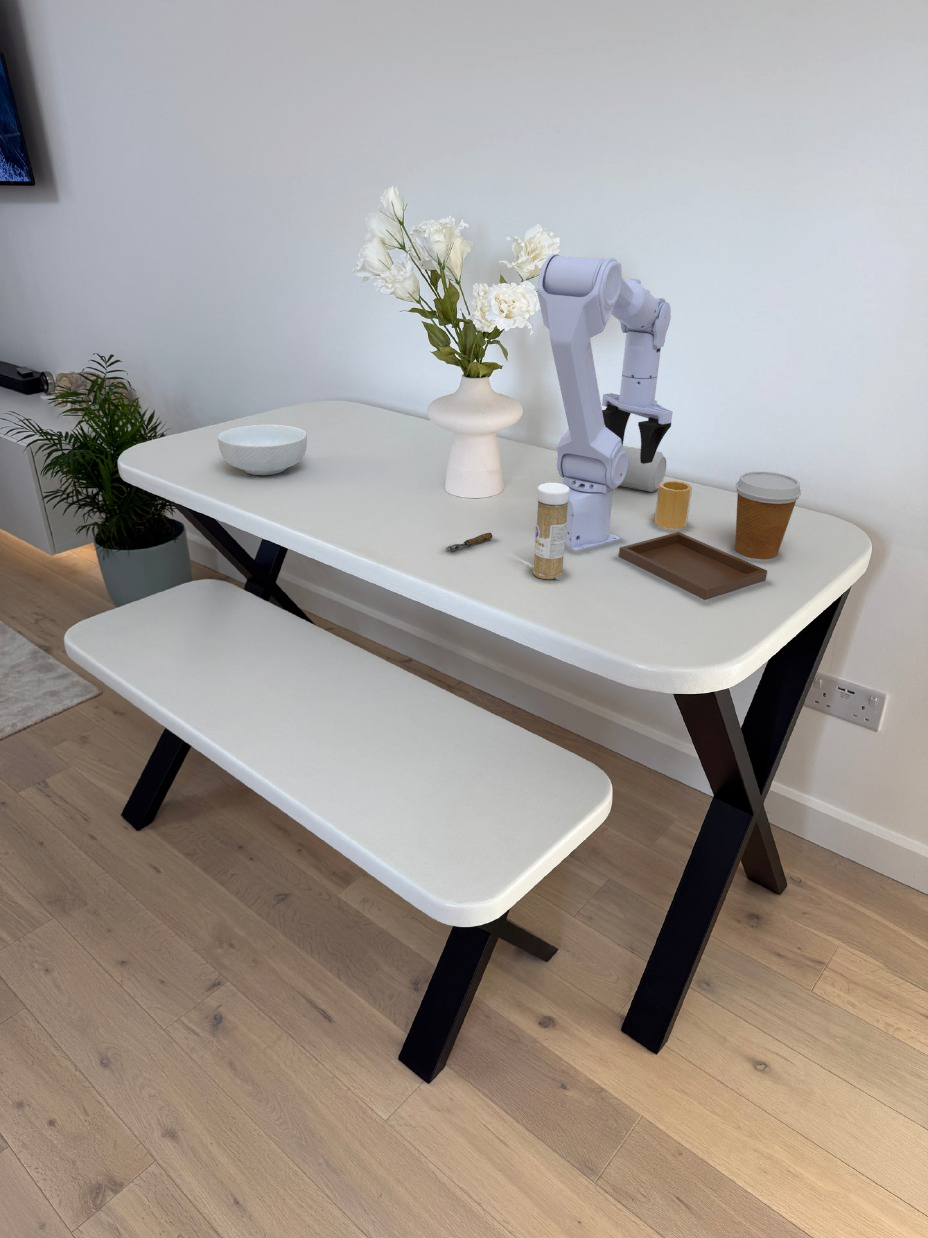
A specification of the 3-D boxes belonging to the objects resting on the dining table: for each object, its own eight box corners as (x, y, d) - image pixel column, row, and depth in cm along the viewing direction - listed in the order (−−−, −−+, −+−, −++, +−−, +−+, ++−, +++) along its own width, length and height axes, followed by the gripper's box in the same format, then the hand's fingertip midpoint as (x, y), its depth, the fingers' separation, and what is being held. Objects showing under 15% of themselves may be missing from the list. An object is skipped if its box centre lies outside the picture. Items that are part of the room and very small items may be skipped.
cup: (670, 533, 140) (675, 492, 137) (648, 523, 144) (653, 483, 141) (692, 527, 143) (698, 487, 140) (670, 518, 147) (675, 478, 144)
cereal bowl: (326, 470, 167) (324, 434, 164) (254, 489, 156) (250, 451, 153) (275, 451, 178) (272, 418, 174) (204, 468, 167) (200, 432, 163)
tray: (704, 603, 117) (706, 590, 116) (618, 559, 130) (619, 547, 129) (765, 583, 124) (767, 570, 123) (676, 543, 137) (678, 531, 136)
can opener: (488, 537, 137) (488, 531, 136) (497, 542, 135) (497, 535, 135) (441, 549, 132) (441, 542, 132) (450, 554, 131) (450, 547, 130)
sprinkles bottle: (527, 570, 126) (532, 483, 120) (554, 566, 128) (560, 479, 122) (541, 582, 122) (547, 493, 116) (569, 578, 124) (576, 489, 118)
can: (666, 444, 156) (606, 433, 161) (651, 471, 153) (590, 460, 158) (668, 474, 162) (610, 463, 167) (654, 501, 158) (594, 489, 164)
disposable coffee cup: (755, 570, 127) (770, 494, 122) (711, 548, 135) (723, 475, 129) (801, 559, 131) (817, 485, 126) (756, 538, 139) (769, 467, 133)
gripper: (690, 381, 135) (678, 464, 141) (627, 365, 146) (619, 443, 152) (657, 385, 131) (647, 470, 138) (595, 369, 142) (589, 448, 148)
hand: (630, 456), depth 145 cm, fingers open, 7 cm apart
